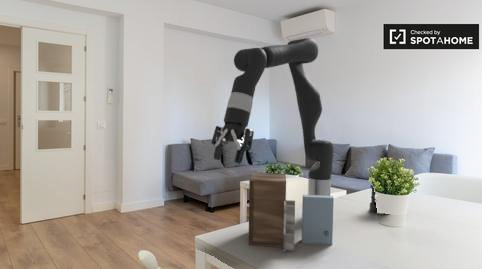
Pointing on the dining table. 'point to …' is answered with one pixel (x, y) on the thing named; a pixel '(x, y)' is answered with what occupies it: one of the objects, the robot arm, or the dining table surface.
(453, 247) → the dining table surface
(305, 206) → the door
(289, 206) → the cabinet
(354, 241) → the dining table surface
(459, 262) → the dining table surface
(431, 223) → the dining table surface
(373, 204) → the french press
